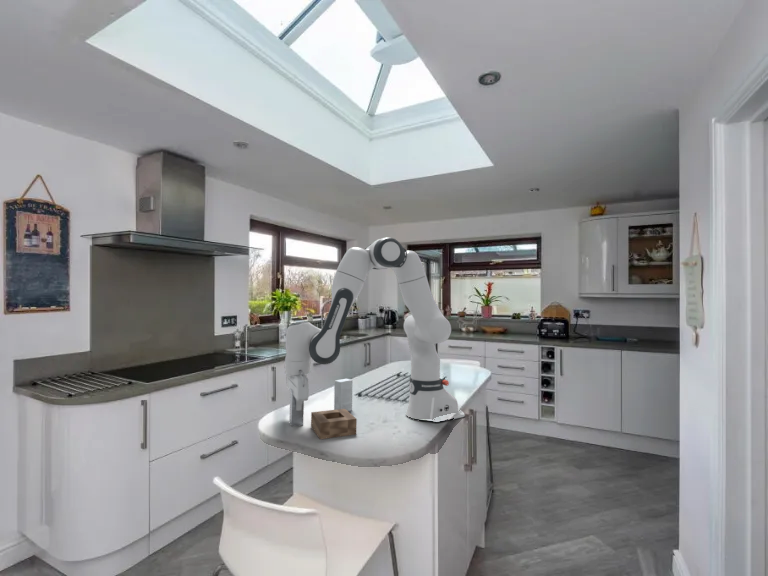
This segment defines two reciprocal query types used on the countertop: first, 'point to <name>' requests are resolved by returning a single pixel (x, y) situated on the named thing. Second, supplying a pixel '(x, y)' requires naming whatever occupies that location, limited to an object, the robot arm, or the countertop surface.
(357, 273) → the robot arm
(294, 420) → the metal peg
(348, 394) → the skincare box
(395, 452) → the countertop surface
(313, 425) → the walnut socket block
